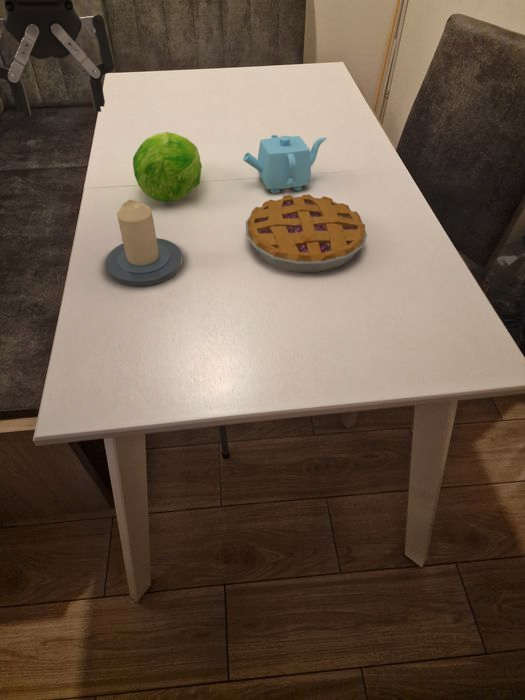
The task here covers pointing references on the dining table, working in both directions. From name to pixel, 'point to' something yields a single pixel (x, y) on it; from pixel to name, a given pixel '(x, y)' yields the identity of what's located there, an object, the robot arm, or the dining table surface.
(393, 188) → the dining table surface
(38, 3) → the robot arm
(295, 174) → the teapot
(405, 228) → the dining table surface
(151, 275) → the saucer
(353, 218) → the pie
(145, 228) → the candle
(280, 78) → the dining table surface
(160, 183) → the lettuce
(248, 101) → the dining table surface
